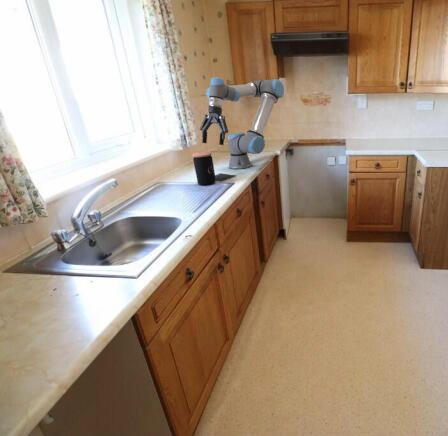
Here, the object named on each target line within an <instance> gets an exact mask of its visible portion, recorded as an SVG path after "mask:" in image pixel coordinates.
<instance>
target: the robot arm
mask: <svg viewBox="0 0 448 436" xmlns="http://www.w3.org/2000/svg"><path fill="white" fill-rule="evenodd" d="M209 83H210V84H209V87H208V88H206V90H205V95H206V98H207V99H208V110H207V112H208V114H207V113H206V114H204V118H203V120H202V122H201V125H200V127H199V131H201V137H202V140H201V143H202V144H207V143H208V130H209V128H210V127H211V126H212V125H213V124H216V126H217V127H218V128H219V131H220V133H219V142H218V144H219V146H224V145H225V144H224V143H225V139H226V134H228V136H227V143H228V149H229V153H230V154H229V157H230V158H229V164H228V166H229V168H230V169H233V170H241V169H247V168H250V167H252V162H251V161H250V158H249V155H248V154H251V155H259V154H261V153H262V152H263V151H264V149H265V146H266V141H265V136H264V132H265V130H266V127H267V124H268V122H269V118H270V116H271V113H272V112H273V111H272V110H273V108H274V105H275V104H277V103H278V101H279V99H281V98H283V97H284V95H285V86H284V84H283V82H282V81H281V80H280V79H277V78H273V79H260V80H255V81H251V82H247V83H245V84H235V85H233V84H232V85H226V84H225V80H224V79H223V78H220V77H211V78H210V82H209ZM245 97H250V98H261V101H260V103H259V106H258V109H257V111H256V114H255V115H254V116H255V117H254V119H253V122H252V124H251V127H250V129H248V130H247V131H246V133H245V132H236V133H235V132H234V133H231V134H229V129H228V126H227V121H226V116H225V115H222V114H223V104H224V101H231V102H234V103H237V102H239V100H240V98H245Z"/></svg>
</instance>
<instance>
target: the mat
mask: <svg viewBox="0 0 448 436" xmlns="http://www.w3.org/2000/svg"><path fill="white" fill-rule="evenodd" d="M215 177H216V181H215V182H223V181H226V180H229V179H231V178H234V177H236V174H235V175H234V174H228V173H218V174H215Z"/></svg>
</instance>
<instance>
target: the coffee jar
mask: <svg viewBox="0 0 448 436" xmlns="http://www.w3.org/2000/svg"><path fill="white" fill-rule="evenodd" d="M192 157H193V159H192V160H193V165H194V171H195V176H196V181H197V184H198V185H199V186H202V187H203V186H206V187H207V186H212V185H214V184H216V182H217V181H216V177H215V175H216V172H215V166H214V161H213V160H214V159H213V156H212V152H211V151H199V152H194V153H192Z"/></svg>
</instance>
